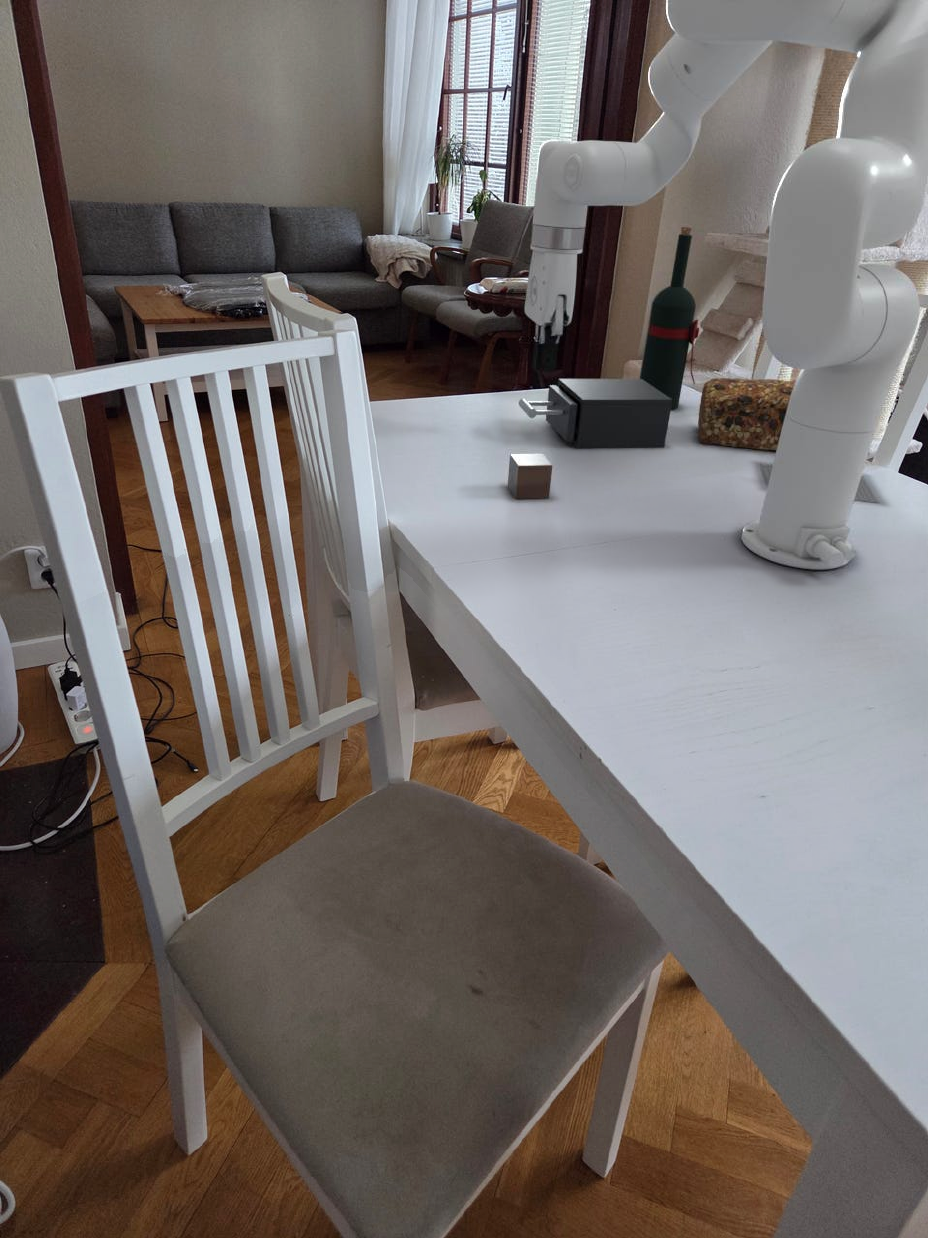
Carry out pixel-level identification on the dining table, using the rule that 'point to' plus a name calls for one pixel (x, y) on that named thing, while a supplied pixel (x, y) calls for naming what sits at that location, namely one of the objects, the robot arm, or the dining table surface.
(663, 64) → the robot arm
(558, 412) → the drawer
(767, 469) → the architectural model
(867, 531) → the dining table surface
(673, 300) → the wine bottle
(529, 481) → the block
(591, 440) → the cabinet
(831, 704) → the dining table surface
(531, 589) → the dining table surface
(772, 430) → the bread
